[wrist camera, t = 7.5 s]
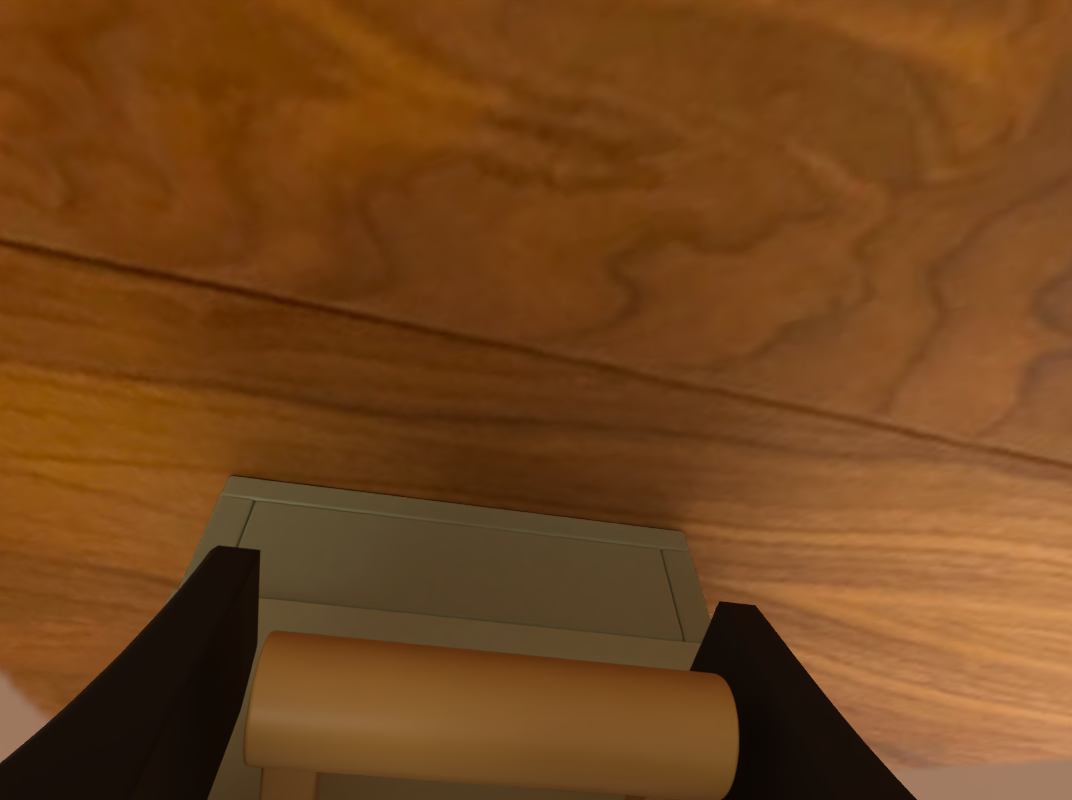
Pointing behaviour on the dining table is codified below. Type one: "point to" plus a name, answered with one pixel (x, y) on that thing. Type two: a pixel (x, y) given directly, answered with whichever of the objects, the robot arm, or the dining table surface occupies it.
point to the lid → (471, 712)
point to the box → (460, 560)
